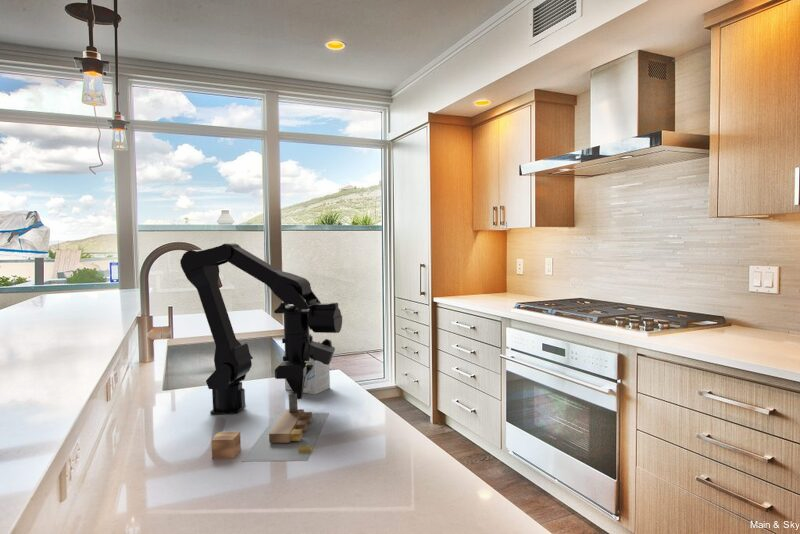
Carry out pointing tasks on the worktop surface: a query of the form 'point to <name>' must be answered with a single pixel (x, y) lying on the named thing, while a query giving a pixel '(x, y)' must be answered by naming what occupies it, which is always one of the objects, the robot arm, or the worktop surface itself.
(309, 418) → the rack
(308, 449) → the pointer
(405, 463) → the worktop surface
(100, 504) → the worktop surface
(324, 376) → the light bulb box
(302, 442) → the base plate
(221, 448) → the yellow-striped wooden block
